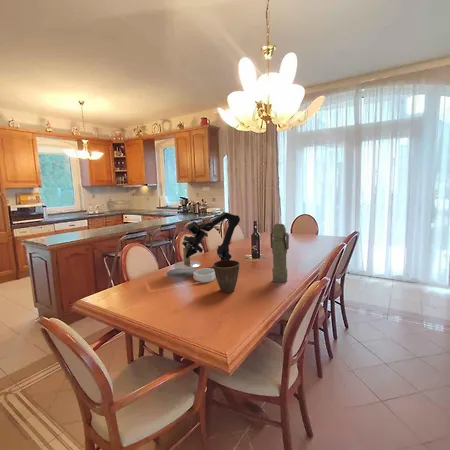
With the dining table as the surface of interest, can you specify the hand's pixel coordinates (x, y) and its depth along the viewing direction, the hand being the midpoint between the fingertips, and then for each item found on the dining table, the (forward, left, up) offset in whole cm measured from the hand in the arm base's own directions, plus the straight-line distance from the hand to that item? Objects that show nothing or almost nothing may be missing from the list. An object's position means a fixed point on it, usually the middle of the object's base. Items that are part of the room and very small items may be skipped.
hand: (185, 257), depth 188 cm
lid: (-1, -1, -6) cm, 6 cm away
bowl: (-13, +6, -13) cm, 19 cm away
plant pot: (-28, +26, -14) cm, 41 cm away
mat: (+5, -7, -13) cm, 16 cm away
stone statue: (-60, +12, -14) cm, 63 cm away
